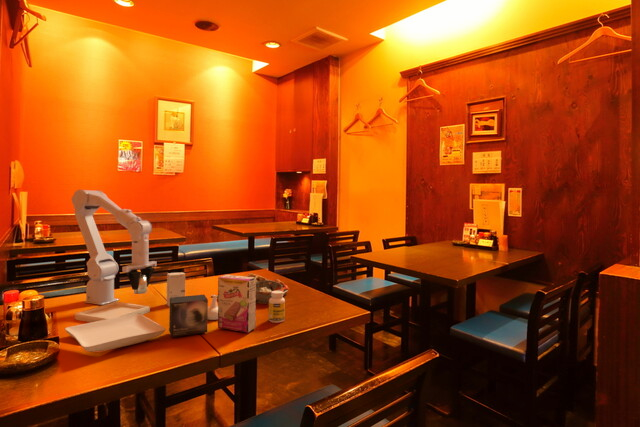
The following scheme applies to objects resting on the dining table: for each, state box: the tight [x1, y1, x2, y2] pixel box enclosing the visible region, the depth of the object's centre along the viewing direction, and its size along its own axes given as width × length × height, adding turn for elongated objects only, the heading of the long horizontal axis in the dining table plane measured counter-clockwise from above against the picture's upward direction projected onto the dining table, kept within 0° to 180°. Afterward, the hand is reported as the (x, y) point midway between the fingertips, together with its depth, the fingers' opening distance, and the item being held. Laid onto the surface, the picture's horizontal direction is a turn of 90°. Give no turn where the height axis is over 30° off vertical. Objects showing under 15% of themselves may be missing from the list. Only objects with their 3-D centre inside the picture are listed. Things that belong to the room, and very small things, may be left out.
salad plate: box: [64, 314, 167, 353], centre depth 108 cm, size 21×21×3 cm
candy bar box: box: [217, 274, 257, 334], centre depth 117 cm, size 11×5×16 cm, turn 71°
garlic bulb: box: [207, 294, 218, 321], centre depth 127 cm, size 6×6×8 cm
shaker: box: [133, 274, 148, 295], centre depth 141 cm, size 4×4×6 cm
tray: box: [74, 301, 151, 323], centre depth 128 cm, size 16×16×2 cm
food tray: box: [210, 272, 290, 305], centre depth 152 cm, size 35×26×11 cm
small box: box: [168, 294, 209, 338], centre depth 114 cm, size 11×6×10 cm, turn 117°
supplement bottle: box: [268, 291, 286, 324], centre depth 126 cm, size 5×5×10 cm
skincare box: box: [166, 271, 186, 308], centre depth 142 cm, size 6×4×12 cm
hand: (140, 288), depth 141 cm, fingers closed on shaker, 4 cm apart
